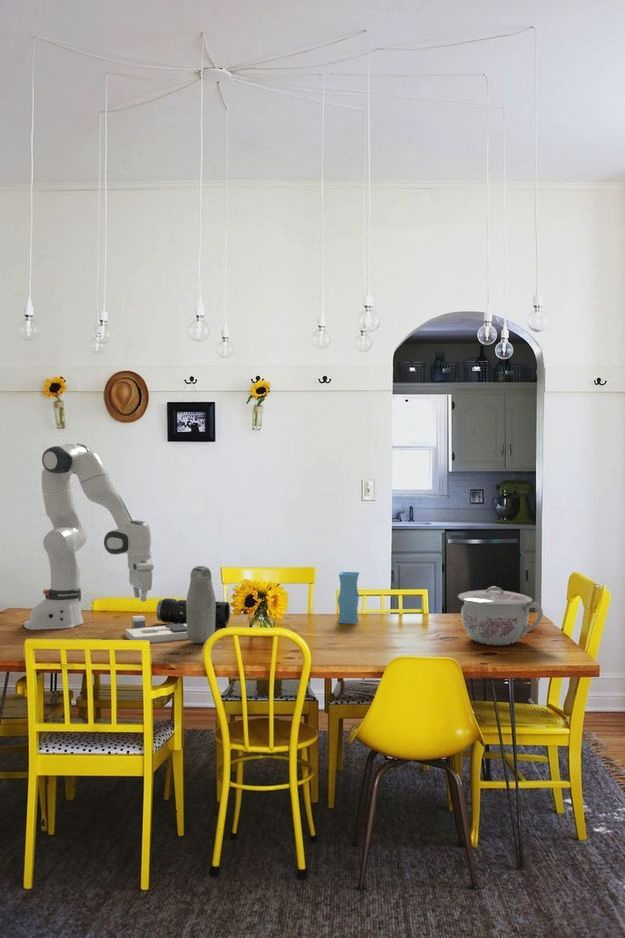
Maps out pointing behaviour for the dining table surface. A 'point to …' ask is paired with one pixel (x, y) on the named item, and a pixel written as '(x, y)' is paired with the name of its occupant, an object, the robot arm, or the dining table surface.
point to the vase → (348, 597)
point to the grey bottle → (200, 606)
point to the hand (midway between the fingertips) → (140, 599)
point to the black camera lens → (177, 613)
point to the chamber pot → (497, 615)
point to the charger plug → (138, 622)
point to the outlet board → (159, 633)
